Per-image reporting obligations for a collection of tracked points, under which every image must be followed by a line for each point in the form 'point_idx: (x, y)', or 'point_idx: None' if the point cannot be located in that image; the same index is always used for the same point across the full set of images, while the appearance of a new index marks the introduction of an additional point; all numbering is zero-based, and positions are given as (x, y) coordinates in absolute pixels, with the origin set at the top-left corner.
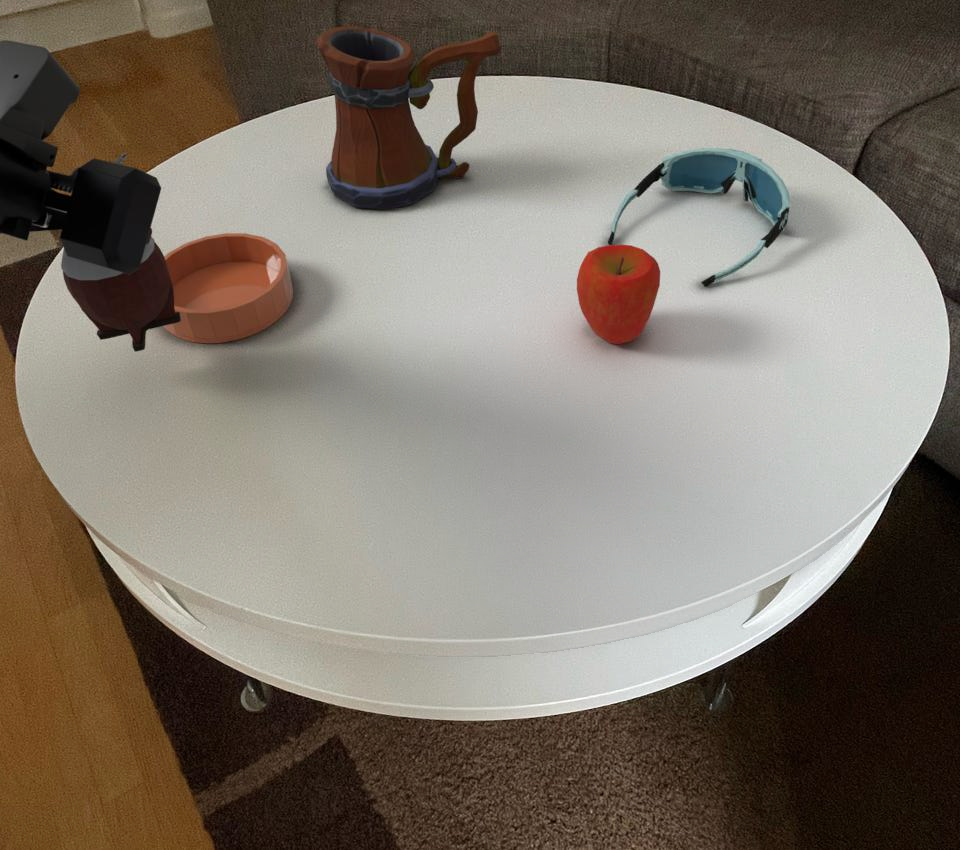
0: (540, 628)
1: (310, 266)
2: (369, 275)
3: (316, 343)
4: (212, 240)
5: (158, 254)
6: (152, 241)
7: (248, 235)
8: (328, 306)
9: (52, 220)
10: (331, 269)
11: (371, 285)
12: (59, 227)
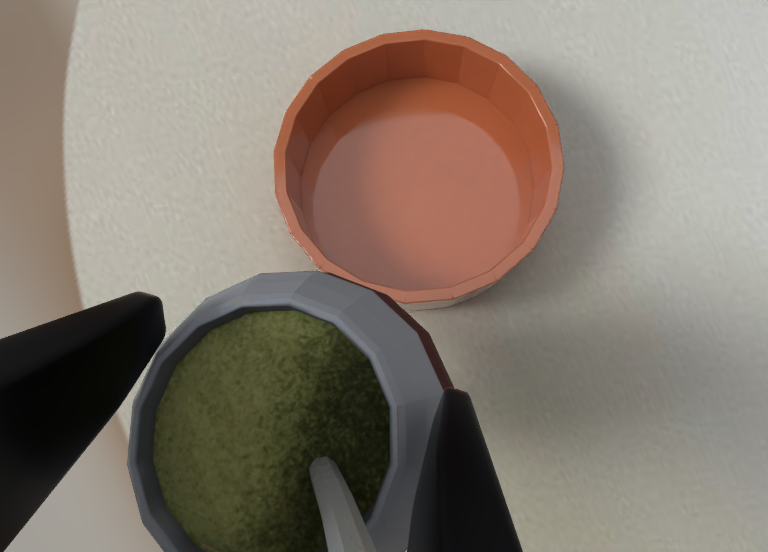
0: None
1: (534, 69)
2: (658, 81)
3: (632, 285)
4: (359, 57)
5: (446, 382)
6: (428, 361)
7: (434, 35)
8: (614, 178)
9: (31, 479)
10: (578, 73)
11: (674, 109)
12: (76, 455)
